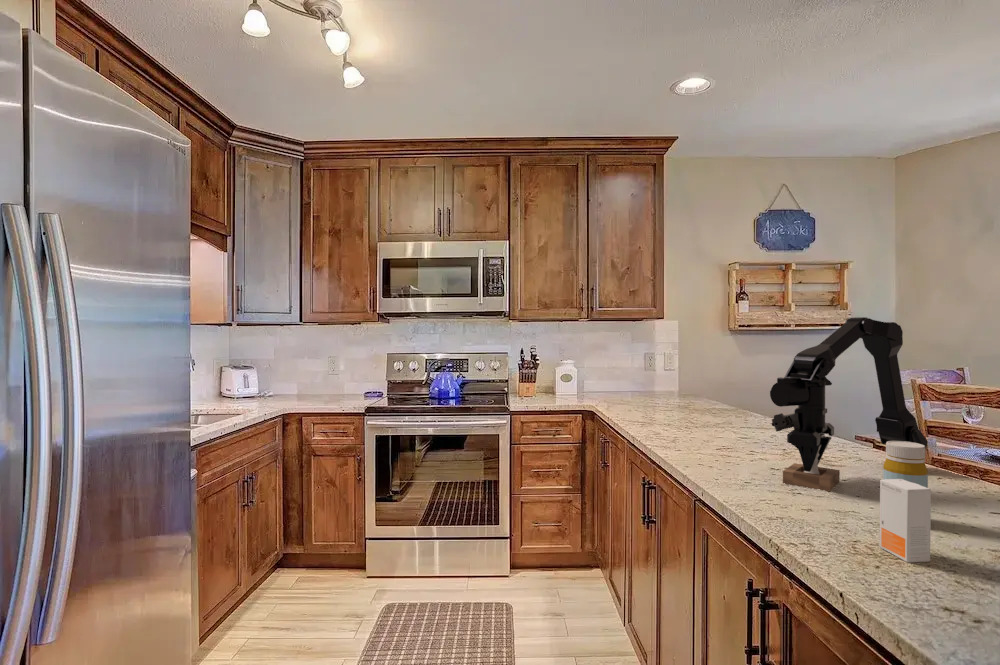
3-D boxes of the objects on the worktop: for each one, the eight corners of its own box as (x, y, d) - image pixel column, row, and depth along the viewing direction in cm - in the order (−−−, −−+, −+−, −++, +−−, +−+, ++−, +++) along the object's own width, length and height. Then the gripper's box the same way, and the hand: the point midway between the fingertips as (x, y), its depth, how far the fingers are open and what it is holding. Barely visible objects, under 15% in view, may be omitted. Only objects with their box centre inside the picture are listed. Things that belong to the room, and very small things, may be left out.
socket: (794, 474, 140) (794, 463, 139) (839, 482, 133) (839, 470, 133) (782, 483, 132) (782, 471, 132) (830, 491, 125) (830, 478, 125)
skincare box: (878, 548, 94) (878, 478, 94) (901, 547, 94) (901, 478, 94) (907, 563, 88) (907, 489, 88) (932, 562, 88) (932, 488, 88)
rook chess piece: (819, 481, 134) (819, 448, 134) (824, 486, 130) (824, 452, 130) (799, 479, 135) (799, 447, 135) (803, 484, 131) (804, 451, 131)
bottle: (935, 527, 103) (935, 448, 103) (893, 525, 104) (894, 447, 104) (915, 515, 110) (915, 441, 110) (876, 513, 111) (876, 439, 111)
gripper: (786, 397, 145) (786, 456, 145) (763, 405, 131) (763, 470, 131) (834, 401, 137) (834, 463, 137) (816, 410, 123) (816, 479, 123)
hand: (811, 468), depth 132 cm, fingers open, 7 cm apart
